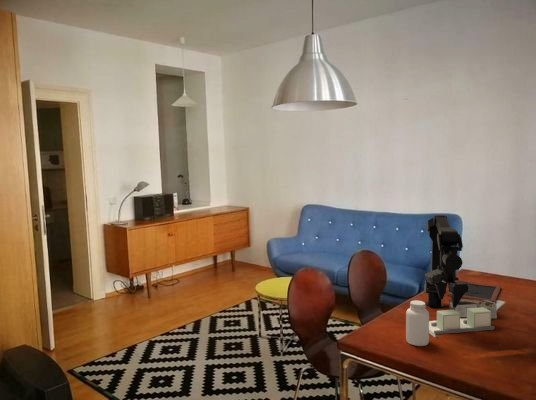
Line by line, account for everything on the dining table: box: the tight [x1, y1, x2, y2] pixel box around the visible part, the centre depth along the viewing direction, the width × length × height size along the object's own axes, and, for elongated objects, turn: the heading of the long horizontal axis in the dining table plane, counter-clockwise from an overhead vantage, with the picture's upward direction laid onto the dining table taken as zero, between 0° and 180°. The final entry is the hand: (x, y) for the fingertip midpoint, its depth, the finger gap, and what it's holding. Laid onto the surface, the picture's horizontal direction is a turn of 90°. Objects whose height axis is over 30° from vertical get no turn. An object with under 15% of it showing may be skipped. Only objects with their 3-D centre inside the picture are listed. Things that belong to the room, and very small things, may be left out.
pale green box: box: [436, 309, 461, 330], centre depth 162 cm, size 5×7×6 cm, turn 97°
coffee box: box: [448, 298, 498, 319], centre depth 176 cm, size 9×6×16 cm
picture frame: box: [447, 280, 501, 303], centre depth 208 cm, size 20×2×25 cm
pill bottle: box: [405, 300, 430, 347], centre depth 154 cm, size 8×8×15 cm
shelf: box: [429, 317, 496, 339], centre depth 165 cm, size 12×24×3 cm, turn 97°
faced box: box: [466, 307, 492, 328], centre depth 164 cm, size 5×7×6 cm, turn 97°
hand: (447, 303), depth 161 cm, fingers open, 9 cm apart
